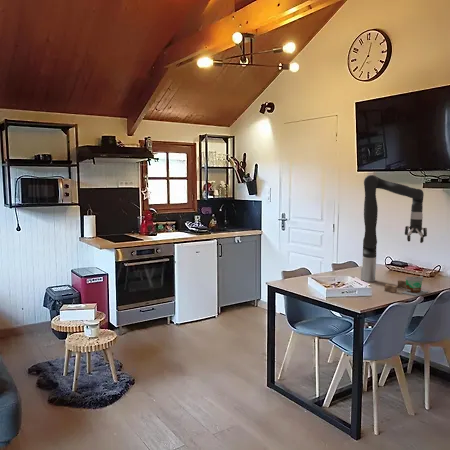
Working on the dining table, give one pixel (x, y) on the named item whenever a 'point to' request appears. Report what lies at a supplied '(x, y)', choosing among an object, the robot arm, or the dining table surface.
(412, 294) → the slate pad
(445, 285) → the dining table surface
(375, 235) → the robot arm
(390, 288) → the clamp blocks
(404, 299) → the dining table surface
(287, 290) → the dining table surface
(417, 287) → the food container
